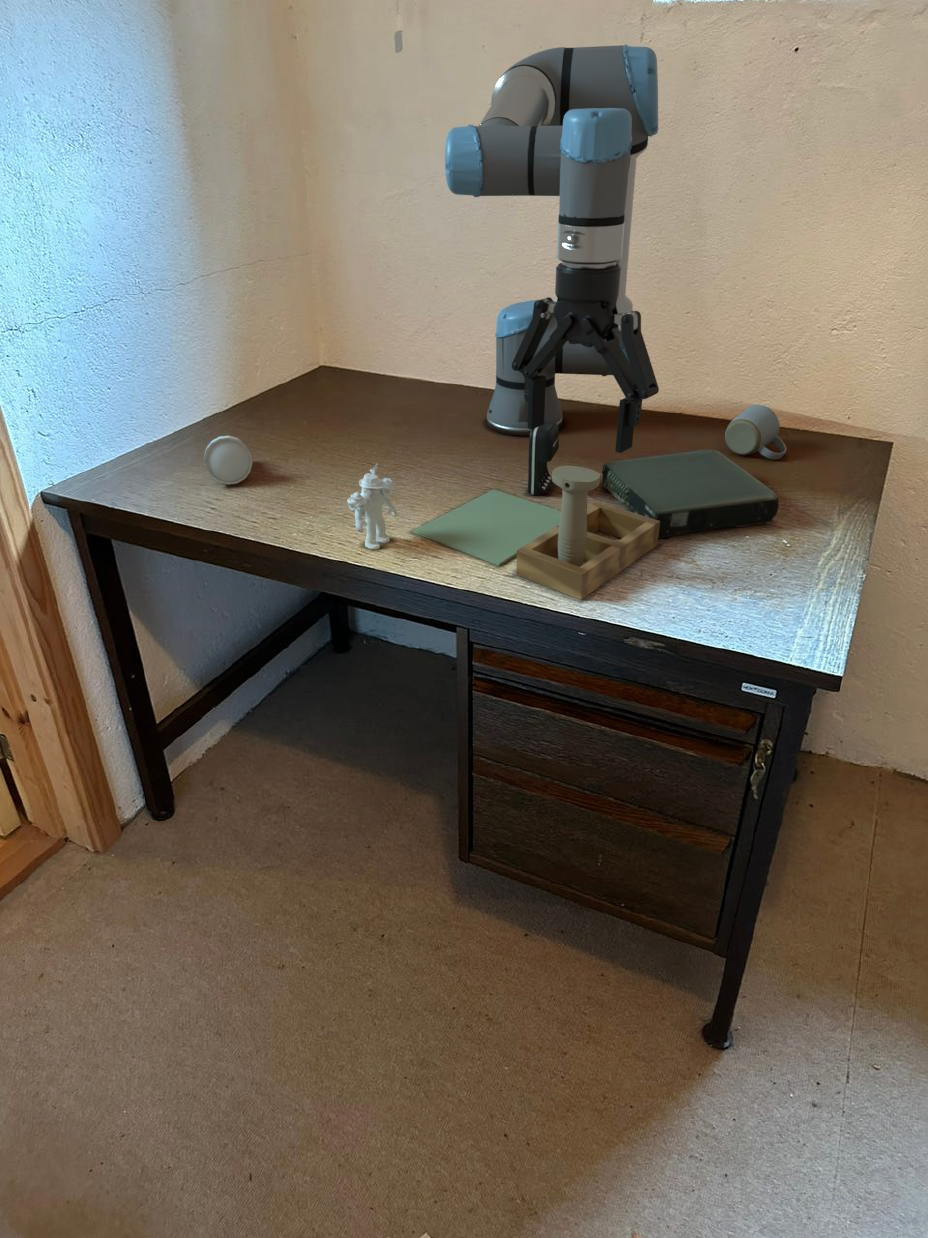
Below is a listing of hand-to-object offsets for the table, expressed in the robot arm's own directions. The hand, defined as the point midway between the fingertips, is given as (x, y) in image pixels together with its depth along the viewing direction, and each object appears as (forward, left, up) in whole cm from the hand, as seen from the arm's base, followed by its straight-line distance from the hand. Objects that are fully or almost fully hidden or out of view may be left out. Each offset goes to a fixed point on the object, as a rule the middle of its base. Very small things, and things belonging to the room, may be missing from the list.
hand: (578, 437), depth 111 cm
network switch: (-30, +2, -20) cm, 36 cm away
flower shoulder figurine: (+11, -28, -20) cm, 36 cm away
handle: (0, 0, -20) cm, 20 cm away
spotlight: (+9, -67, -20) cm, 71 cm away
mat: (-5, -18, -20) cm, 27 cm away
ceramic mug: (-59, +1, -20) cm, 63 cm away
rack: (-5, 0, -20) cm, 21 cm away
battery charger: (-21, -20, -20) cm, 36 cm away
